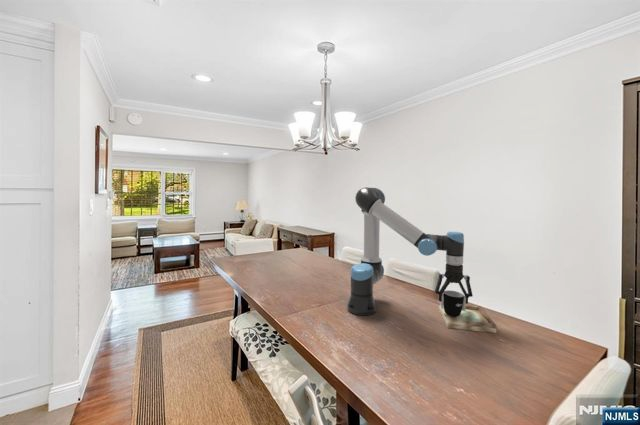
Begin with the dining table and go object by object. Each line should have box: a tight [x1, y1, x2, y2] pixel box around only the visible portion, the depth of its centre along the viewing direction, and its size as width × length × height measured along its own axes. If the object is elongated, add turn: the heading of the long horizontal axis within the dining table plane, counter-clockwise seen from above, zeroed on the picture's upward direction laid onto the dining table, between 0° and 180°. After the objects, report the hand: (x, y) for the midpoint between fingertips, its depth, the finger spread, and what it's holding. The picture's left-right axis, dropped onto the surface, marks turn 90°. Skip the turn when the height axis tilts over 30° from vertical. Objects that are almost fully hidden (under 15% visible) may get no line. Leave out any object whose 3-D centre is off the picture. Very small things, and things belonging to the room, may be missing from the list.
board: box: [438, 304, 498, 334], centre depth 132 cm, size 20×21×4 cm
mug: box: [443, 289, 465, 317], centre depth 133 cm, size 12×9×10 cm
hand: (452, 308), depth 133 cm, fingers closed on mug, 9 cm apart
